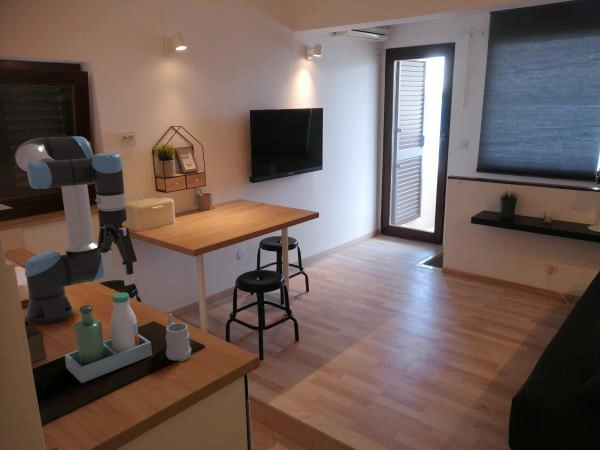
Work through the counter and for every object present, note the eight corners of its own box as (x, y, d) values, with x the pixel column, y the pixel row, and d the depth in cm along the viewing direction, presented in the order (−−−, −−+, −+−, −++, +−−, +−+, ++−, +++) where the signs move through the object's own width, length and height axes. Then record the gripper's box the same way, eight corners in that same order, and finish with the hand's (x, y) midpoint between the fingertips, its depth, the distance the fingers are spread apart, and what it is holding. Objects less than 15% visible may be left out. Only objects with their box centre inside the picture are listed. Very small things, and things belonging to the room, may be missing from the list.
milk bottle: (131, 363, 143) (125, 300, 138) (108, 360, 145) (101, 298, 140) (144, 350, 150) (139, 291, 145) (122, 348, 152) (116, 289, 147)
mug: (171, 365, 143) (168, 328, 140) (158, 349, 152) (155, 314, 149) (195, 358, 147) (193, 322, 144) (181, 342, 157) (179, 308, 154)
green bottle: (76, 368, 140) (68, 307, 136) (99, 359, 145) (93, 300, 141) (86, 377, 136) (78, 314, 131) (110, 367, 140) (103, 307, 136)
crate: (66, 369, 141) (64, 354, 139) (135, 344, 155) (133, 330, 154) (81, 385, 133) (79, 368, 132) (152, 356, 148) (150, 342, 146)
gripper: (80, 203, 142) (88, 271, 147) (119, 217, 125) (126, 293, 130) (105, 200, 147) (112, 265, 153) (145, 213, 130) (151, 286, 136)
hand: (118, 278), depth 142 cm, fingers open, 13 cm apart
